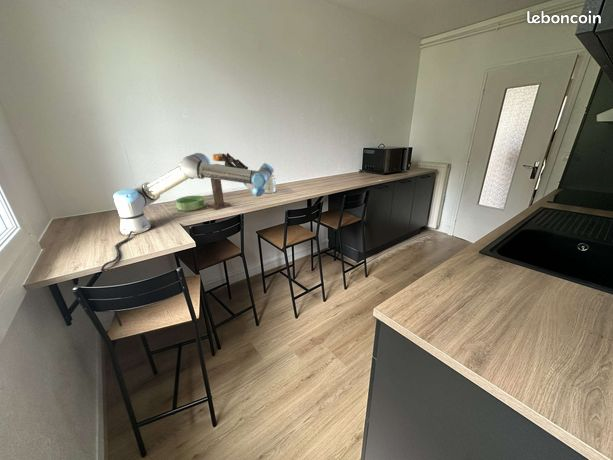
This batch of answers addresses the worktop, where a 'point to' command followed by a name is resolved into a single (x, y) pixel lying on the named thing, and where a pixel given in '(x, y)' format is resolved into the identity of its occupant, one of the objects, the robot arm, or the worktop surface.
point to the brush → (220, 157)
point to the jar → (270, 185)
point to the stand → (218, 194)
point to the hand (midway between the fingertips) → (224, 155)
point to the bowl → (190, 203)
